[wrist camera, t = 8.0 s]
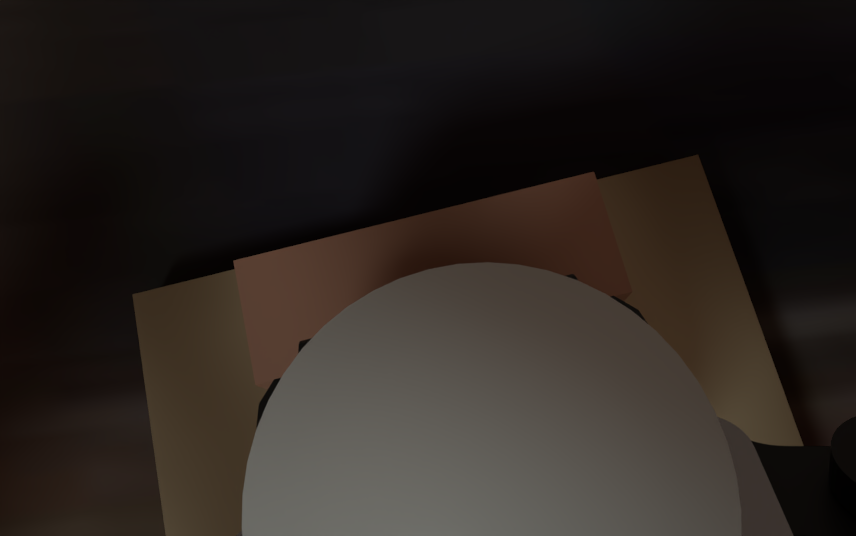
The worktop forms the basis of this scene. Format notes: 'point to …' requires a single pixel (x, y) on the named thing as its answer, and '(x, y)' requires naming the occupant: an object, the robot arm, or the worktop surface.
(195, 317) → the track
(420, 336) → the white handled block
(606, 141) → the worktop surface
